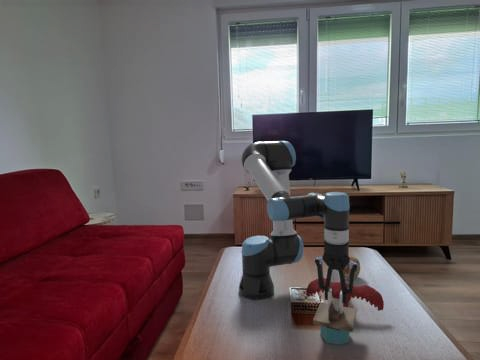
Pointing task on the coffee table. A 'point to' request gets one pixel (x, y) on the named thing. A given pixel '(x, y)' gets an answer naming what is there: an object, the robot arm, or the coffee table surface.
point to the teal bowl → (334, 335)
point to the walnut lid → (335, 316)
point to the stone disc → (348, 269)
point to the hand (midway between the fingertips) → (335, 310)
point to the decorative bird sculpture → (358, 291)
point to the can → (335, 276)
